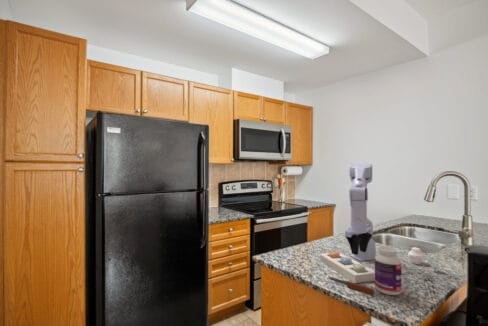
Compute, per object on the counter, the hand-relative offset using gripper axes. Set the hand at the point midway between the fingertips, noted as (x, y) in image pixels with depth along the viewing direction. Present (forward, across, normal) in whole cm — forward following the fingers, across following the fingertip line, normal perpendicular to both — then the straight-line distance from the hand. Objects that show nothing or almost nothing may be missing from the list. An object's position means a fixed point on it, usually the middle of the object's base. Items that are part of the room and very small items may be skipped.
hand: (358, 252), depth 100 cm
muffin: (+10, -35, +5) cm, 37 cm away
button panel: (+9, -2, -8) cm, 12 cm away
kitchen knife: (+10, +11, +3) cm, 15 cm away
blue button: (+8, -3, -8) cm, 11 cm away
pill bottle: (+10, +2, +12) cm, 15 cm away
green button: (+8, 0, 0) cm, 8 cm away
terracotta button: (+8, -5, -15) cm, 18 cm away
